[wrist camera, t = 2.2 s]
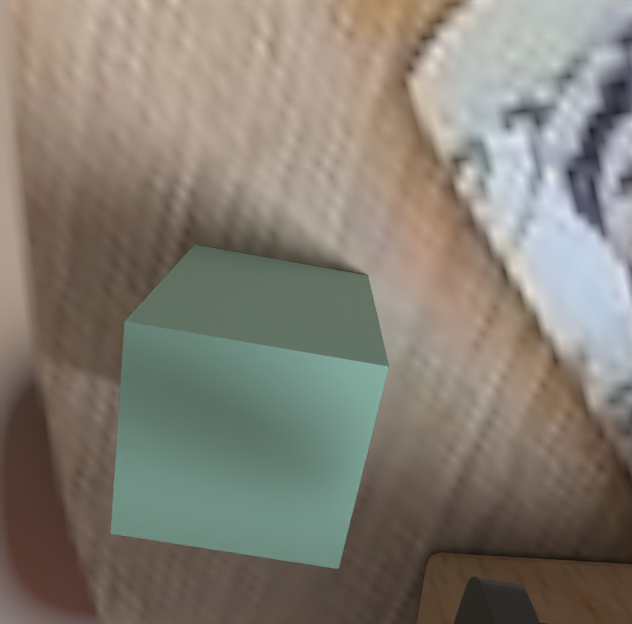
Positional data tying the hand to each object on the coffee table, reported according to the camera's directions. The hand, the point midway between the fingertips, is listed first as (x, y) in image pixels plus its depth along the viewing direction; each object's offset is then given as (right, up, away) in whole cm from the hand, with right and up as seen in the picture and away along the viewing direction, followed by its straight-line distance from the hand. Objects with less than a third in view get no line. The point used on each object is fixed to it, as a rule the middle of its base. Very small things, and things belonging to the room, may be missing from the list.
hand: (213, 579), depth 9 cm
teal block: (0, +3, +8) cm, 9 cm away
